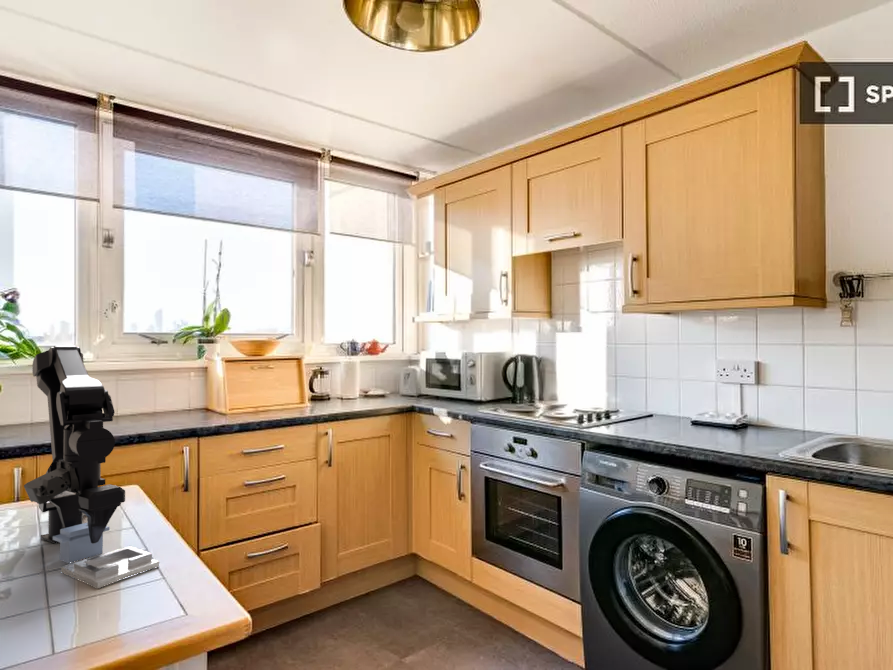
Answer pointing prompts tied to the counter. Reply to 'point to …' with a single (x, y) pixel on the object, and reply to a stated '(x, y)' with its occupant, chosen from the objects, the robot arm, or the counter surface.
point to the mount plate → (111, 566)
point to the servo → (78, 543)
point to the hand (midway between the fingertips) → (81, 538)
